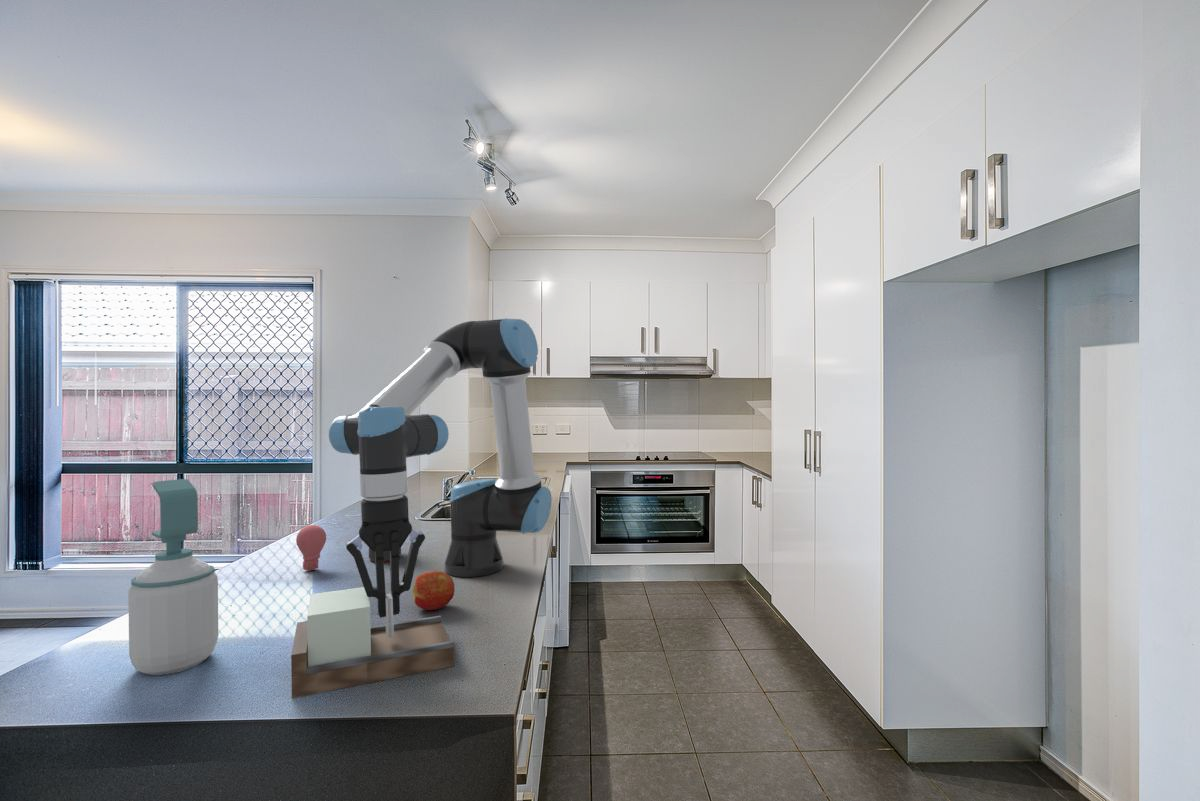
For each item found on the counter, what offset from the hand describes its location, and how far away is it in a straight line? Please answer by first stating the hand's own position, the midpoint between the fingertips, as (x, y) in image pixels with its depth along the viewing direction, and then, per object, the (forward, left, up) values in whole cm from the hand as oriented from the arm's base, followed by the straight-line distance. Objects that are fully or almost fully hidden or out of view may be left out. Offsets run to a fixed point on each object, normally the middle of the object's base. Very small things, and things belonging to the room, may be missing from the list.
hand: (389, 633), depth 98 cm
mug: (-5, -70, -5) cm, 70 cm away
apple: (-11, -22, -5) cm, 25 cm away
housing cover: (+8, 0, -1) cm, 8 cm away
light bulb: (+14, -65, -5) cm, 67 cm away
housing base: (+2, 0, -5) cm, 5 cm away
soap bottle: (+33, -15, -5) cm, 37 cm away
